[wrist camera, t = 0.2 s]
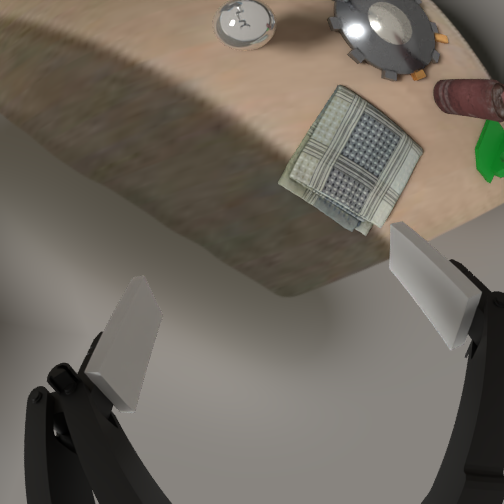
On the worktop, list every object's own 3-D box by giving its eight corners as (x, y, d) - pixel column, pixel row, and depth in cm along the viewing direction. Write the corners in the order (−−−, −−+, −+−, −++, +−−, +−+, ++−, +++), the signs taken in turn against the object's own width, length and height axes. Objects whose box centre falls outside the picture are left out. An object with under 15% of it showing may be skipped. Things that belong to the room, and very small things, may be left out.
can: (459, 90, 32) (515, 94, 19) (452, 119, 34) (509, 130, 22) (436, 72, 31) (494, 69, 18) (428, 102, 33) (487, 107, 21)
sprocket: (309, -27, 23) (317, -41, 19) (416, -16, 22) (430, -23, 17) (344, 83, 32) (357, 80, 28) (446, 83, 30) (464, 82, 26)
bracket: (487, 113, 33) (511, 117, 27) (504, 136, 35) (526, 143, 29) (468, 160, 38) (492, 169, 32) (486, 181, 40) (508, 191, 34)
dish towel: (335, 81, 33) (343, 79, 30) (419, 148, 38) (430, 151, 35) (273, 185, 40) (276, 190, 38) (363, 237, 45) (371, 245, 42)
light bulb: (227, 70, 32) (221, 50, 21) (211, 30, 29) (200, -2, 18) (276, 56, 31) (290, 32, 20) (259, 16, 28) (267, -19, 17)
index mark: (432, 40, 28) (436, 39, 27) (431, 33, 27) (434, 32, 26) (444, 43, 28) (448, 42, 27) (443, 36, 27) (446, 35, 26)
